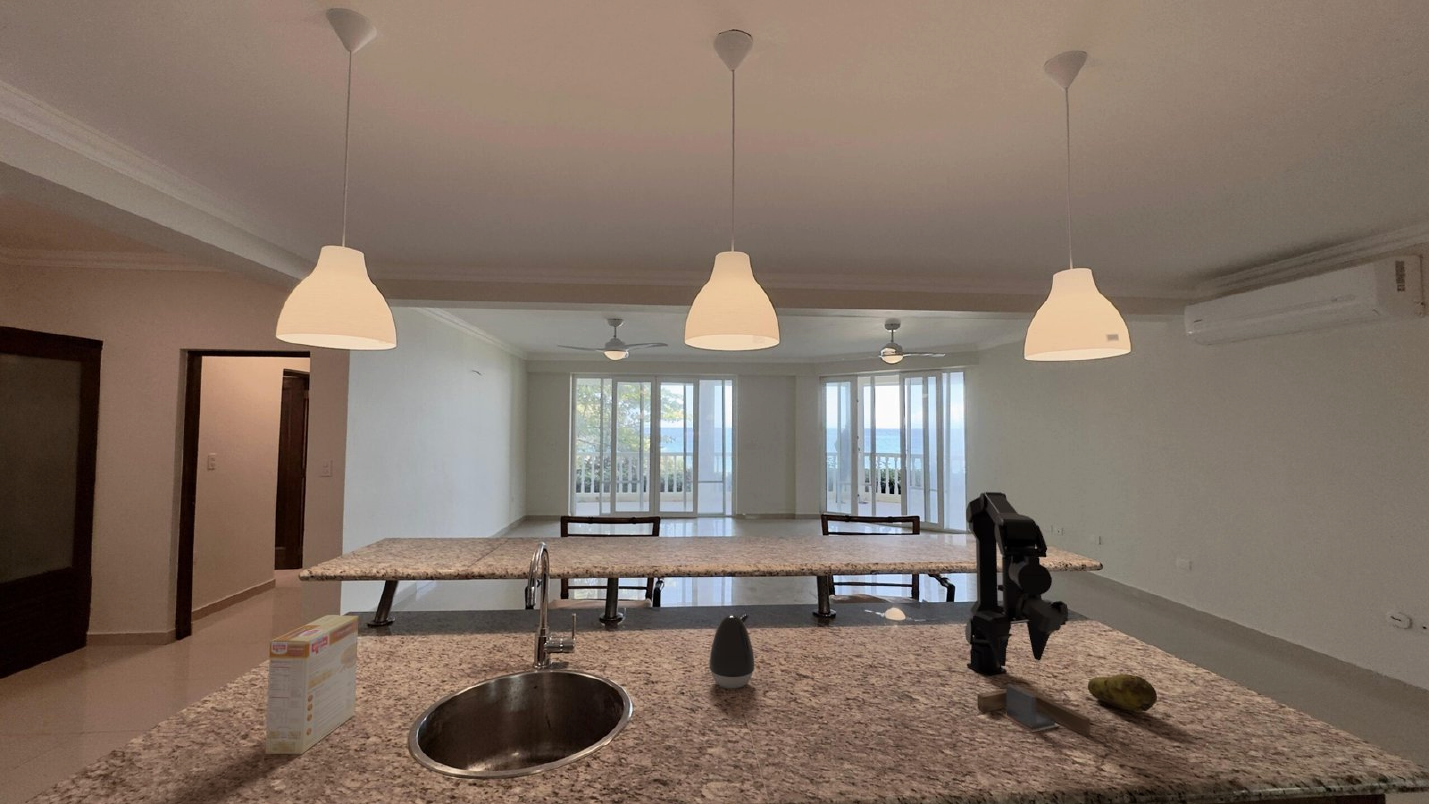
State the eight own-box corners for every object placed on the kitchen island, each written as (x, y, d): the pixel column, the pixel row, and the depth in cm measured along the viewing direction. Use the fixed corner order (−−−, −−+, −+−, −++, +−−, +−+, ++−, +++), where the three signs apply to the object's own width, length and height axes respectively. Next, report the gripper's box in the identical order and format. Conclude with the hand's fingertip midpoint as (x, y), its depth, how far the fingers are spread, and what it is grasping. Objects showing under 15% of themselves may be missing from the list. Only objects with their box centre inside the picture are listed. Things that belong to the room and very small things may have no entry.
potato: (1121, 696, 128) (1120, 659, 129) (1166, 725, 115) (1164, 683, 116) (1082, 696, 128) (1081, 658, 129) (1123, 725, 116) (1122, 683, 116)
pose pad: (1028, 710, 121) (1028, 709, 122) (1059, 726, 115) (1059, 725, 115) (1002, 715, 119) (1002, 714, 119) (1032, 732, 112) (1032, 731, 112)
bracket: (1006, 715, 119) (1006, 685, 119) (1029, 711, 121) (1028, 681, 121) (1031, 729, 113) (1031, 697, 113) (1055, 724, 115) (1054, 693, 115)
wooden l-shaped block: (1019, 699, 127) (1019, 685, 127) (1090, 735, 112) (1089, 718, 112) (975, 708, 122) (975, 693, 123) (1043, 746, 107) (1042, 729, 108)
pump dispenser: (764, 683, 134) (764, 615, 135) (733, 698, 126) (734, 625, 127) (730, 671, 141) (730, 606, 142) (699, 684, 133) (700, 615, 134)
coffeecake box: (321, 714, 118) (326, 614, 119) (356, 714, 118) (360, 614, 119) (262, 754, 103) (267, 640, 104) (302, 755, 103) (307, 640, 104)
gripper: (1016, 596, 107) (1018, 685, 106) (1090, 588, 113) (1092, 671, 112) (969, 582, 117) (971, 663, 116) (1039, 575, 124) (1041, 651, 123)
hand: (1020, 662), depth 117 cm, fingers open, 9 cm apart
